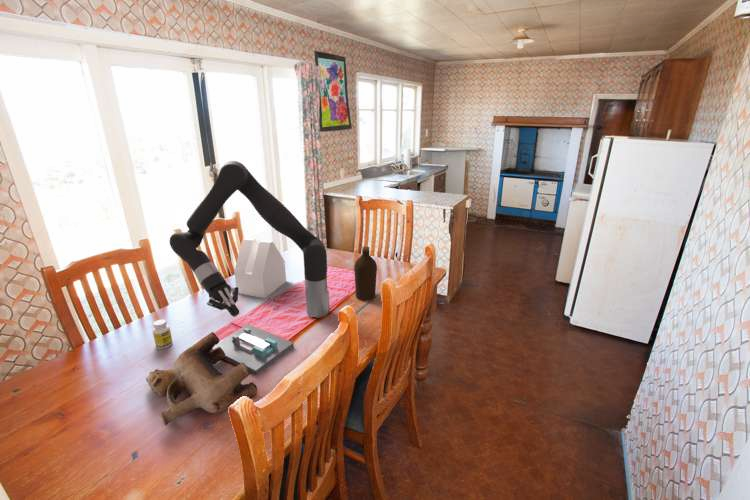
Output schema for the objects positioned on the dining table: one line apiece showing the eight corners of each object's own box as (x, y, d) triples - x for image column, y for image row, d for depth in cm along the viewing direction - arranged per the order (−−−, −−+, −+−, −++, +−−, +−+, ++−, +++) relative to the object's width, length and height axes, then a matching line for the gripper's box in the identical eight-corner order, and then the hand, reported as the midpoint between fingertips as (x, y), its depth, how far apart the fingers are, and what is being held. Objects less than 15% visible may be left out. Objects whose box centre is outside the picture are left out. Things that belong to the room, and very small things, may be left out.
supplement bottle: (165, 350, 130) (160, 327, 127) (152, 348, 131) (147, 325, 128) (176, 341, 135) (171, 319, 132) (163, 339, 136) (158, 317, 133)
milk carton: (264, 298, 168) (259, 248, 159) (237, 293, 172) (230, 244, 163) (286, 281, 185) (282, 235, 176) (260, 277, 189) (255, 232, 180)
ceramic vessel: (209, 321, 123) (127, 362, 107) (257, 369, 104) (167, 427, 88) (217, 348, 129) (141, 391, 113) (264, 398, 111) (181, 457, 95)
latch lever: (244, 332, 133) (270, 344, 127) (245, 335, 134) (270, 346, 128) (237, 336, 131) (263, 348, 125) (238, 339, 131) (263, 351, 125)
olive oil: (363, 303, 164) (363, 253, 155) (350, 295, 172) (349, 246, 163) (381, 297, 170) (382, 248, 161) (367, 289, 178) (367, 242, 169)
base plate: (248, 328, 144) (247, 316, 142) (293, 347, 133) (292, 334, 131) (209, 351, 130) (207, 339, 128) (256, 375, 118) (254, 361, 117)
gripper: (197, 279, 124) (225, 319, 122) (228, 266, 134) (255, 302, 133) (190, 289, 128) (217, 328, 127) (221, 275, 139) (247, 311, 138)
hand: (236, 315), depth 130 cm, fingers closed
